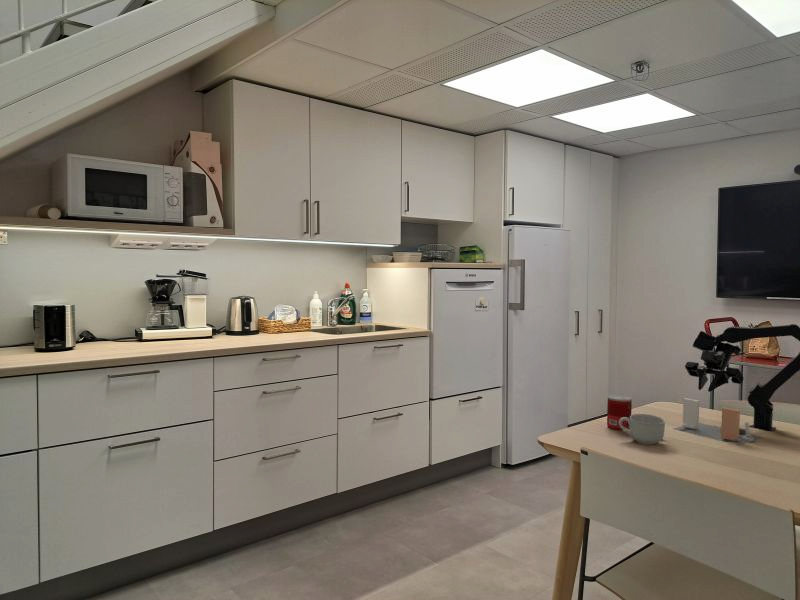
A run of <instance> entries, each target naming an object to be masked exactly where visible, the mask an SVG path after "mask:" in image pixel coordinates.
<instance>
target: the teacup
mask: <svg viewBox="0 0 800 600" xmlns="http://www.w3.org/2000/svg"><path fill="white" fill-rule="evenodd" d="M624 420H626V421H627V422H628V424H629V426H630V427H629V428H625V427H623V425H622V421H624ZM619 426H620V427H621V428H622V429H623V430H624V432H626V433H627V435H629V436H631V438H632V439H633V440H634V441H635V442H637V443H639V444H643V445H649V446H650V445H657V444H658V443H660V442H661V441H662V440H663V439H664V437H665V426H666V420H665V419H664V418H662V417H660V416H657V415H653V414H647V413H634V414H631V416H630V419H629V418H627V417H622V418H621V419H620V420H619ZM628 429H629V430H628Z"/></svg>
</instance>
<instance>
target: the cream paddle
mask: <svg viewBox="0 0 800 600" xmlns="http://www.w3.org/2000/svg"><path fill="white" fill-rule="evenodd" d="M682 403H683V407H682V408H683V410H682V426H683V427H687V428H691V429H696V428H698V427H699V423H700V422H699V420H700V400H697V399H693V398H692V399H691V398H688V397H687V398H686V397H684V398H683V402H682Z"/></svg>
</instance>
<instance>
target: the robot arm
mask: <svg viewBox="0 0 800 600" xmlns="http://www.w3.org/2000/svg"><path fill="white" fill-rule="evenodd" d="M777 337H793V338H795V339H796V340H797V341H798V342H800V326H799V325H798V324H796V323H790V324H785V325H773V326H759V327H745V326H729V327H726V328H725V329H724V330H723V333H721V334H717V335H716V336H714V335H712V334H709V333H707V332H705V331H703V330H700V331H699V333H698V335H697V336H696V338H695V340H694V341H693V344H692V347H693V348H694V349H697V350H699V351H702V352H701V355H700V360H702V361H703V365H700V363H699V362H695V361H687V362H686V363H685V364H684V368H685V369H686V371H687V373H688V375H689V376H690V377H695V378H698V385H697V387H698V390H699V391H701V390H702V389H703V388H704V386H705V385H706V384H707V382H708V380H709V377H708V376H707V375H712V376H714V377H713V379H712V381H711V382H710V384H709V386H708V389H707V391H708V393H710V392H712V391H714V390H715V389H717V388H720V387H721V386H723V385H726V384H729V379H730V380H731V382H732V383H733V384H737V385H741V384H742V383H743V382H744V376H743V373H742V372H741V370H740V369H739V368H738V367H737V368H736V367H730V364H729V362H730V360H731V358H732V357H733V354H734V355H736V356H739V355H740V354H741V351H742V349H741V348H740V346H739V345H733V344H737V343H741V342H746V341H749V340H753V339H764V338H777ZM713 350H714V351H713ZM799 371H800V351H799V352H798V354H797V355H795V357H793V358H792V359H791V360H790V361H789V362H788V363H787V364H785V365H784V366H783V367H782V368H781V369H779V371H777V373H776V374H774V375H773V376H772V377H771V378H769V379H768V380H767V381H766V382H764V383H763V384H761V383H760V382H756V384H755V385H754V387H752V388H749V391H748V395H747V402H748V405H750V406H751V407H753V420H752V421H753V424H751V425H750V424H749V428H752V429H757V430H762V431H766V432H771V431H774V430H777V427H776V426H773V416H774V403H772V402H771V401H770V399H771V398H772V397H773V396H774V394H775V393H776V391H777V390H779V388H780V387H782V386H783V385H784V384H785V383H787V382H788V381H789V380H790V379H791V378H792V377H793V376H794V375H795V374H797V373H798V372H799Z"/></svg>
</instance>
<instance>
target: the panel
mask: <svg viewBox="0 0 800 600" xmlns="http://www.w3.org/2000/svg"><path fill="white" fill-rule="evenodd" d="M749 426H750V423H749V421H745V422H744V427H745V429H744V428H741V427H739V439H738V440H735V441H732V440H728V439H724V438H721V436H722V435H721V427H719V426H715V425H711V424H710V425H709V424H706V423H702V422H699V427H698V428H696V429H691V428H687V427H683V425H682V426H678V427H674V428H672V430H675V431H680V432H684V433H687V434H692V435H695V436H701V437H703V438H708V439H713V440H716V441H721V442H724V443H729V444H733V445H737V446H741V445H744V444H747V443H752V442H754V441H756V440H760V439H762V438H763V436H758V435H754V434H751V431H750V430H751V429H750V428H751V427H749ZM763 439H764V438H763Z"/></svg>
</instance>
